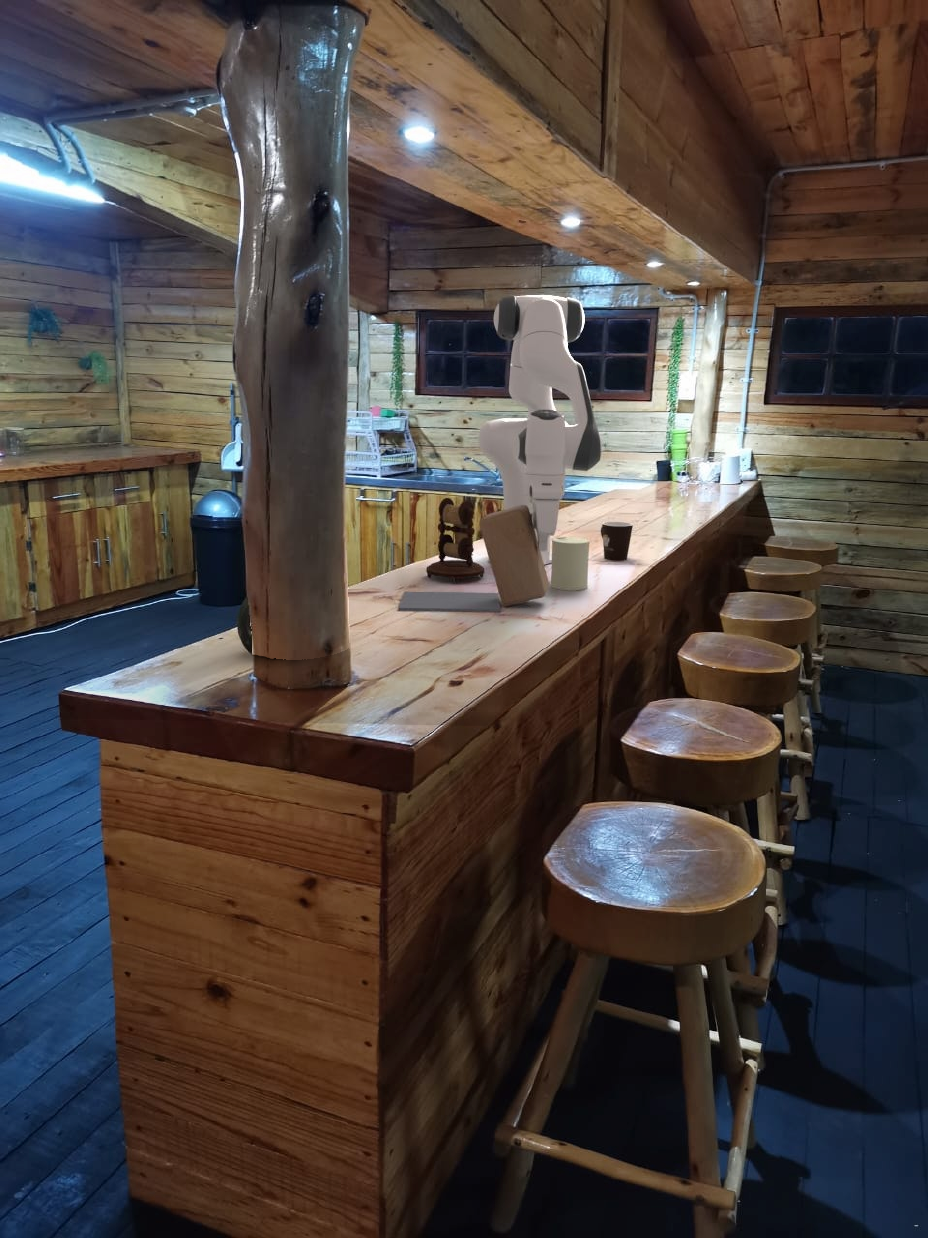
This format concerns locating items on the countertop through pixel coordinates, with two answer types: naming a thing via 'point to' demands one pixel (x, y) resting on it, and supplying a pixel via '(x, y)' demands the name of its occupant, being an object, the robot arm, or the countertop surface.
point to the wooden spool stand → (456, 543)
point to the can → (569, 563)
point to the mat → (449, 601)
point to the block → (514, 555)
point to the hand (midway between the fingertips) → (542, 549)
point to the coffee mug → (616, 540)
